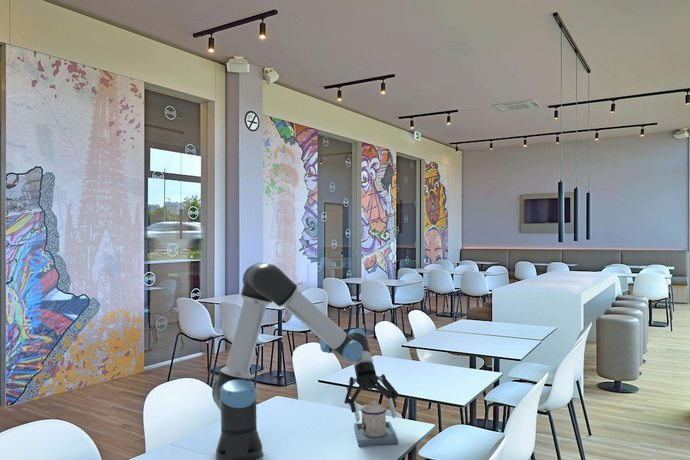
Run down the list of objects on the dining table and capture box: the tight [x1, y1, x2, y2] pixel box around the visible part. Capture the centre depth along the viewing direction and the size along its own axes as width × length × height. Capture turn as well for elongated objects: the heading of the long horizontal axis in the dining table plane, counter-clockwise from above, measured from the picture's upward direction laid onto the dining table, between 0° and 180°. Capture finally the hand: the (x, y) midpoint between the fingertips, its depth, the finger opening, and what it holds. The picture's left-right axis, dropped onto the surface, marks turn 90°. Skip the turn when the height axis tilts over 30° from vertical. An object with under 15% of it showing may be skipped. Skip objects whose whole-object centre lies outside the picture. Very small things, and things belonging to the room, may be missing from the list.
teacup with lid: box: [360, 399, 387, 437], centre depth 186 cm, size 12×9×12 cm
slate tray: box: [353, 421, 399, 447], centre depth 186 cm, size 14×17×2 cm
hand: (376, 418), depth 184 cm, fingers open, 13 cm apart
